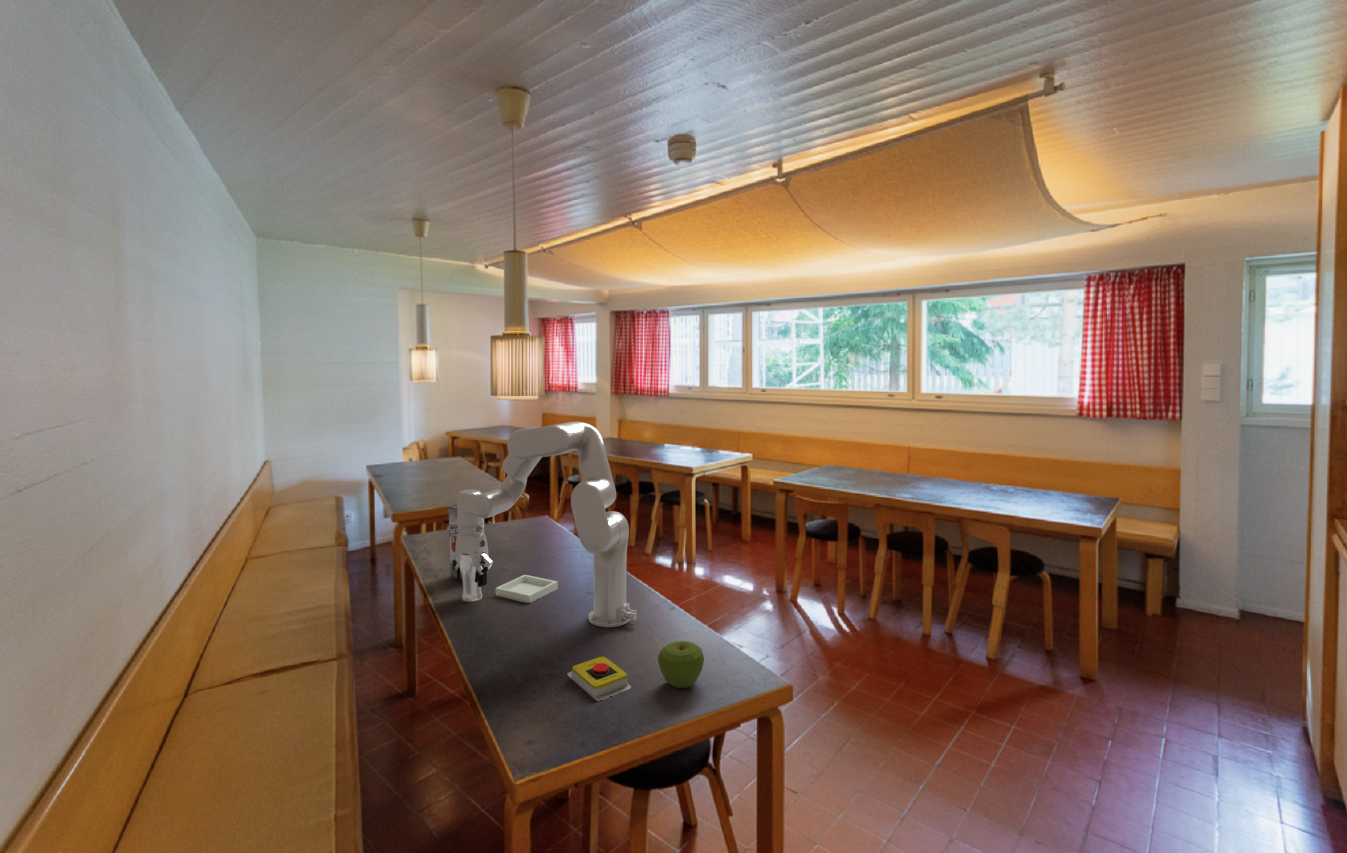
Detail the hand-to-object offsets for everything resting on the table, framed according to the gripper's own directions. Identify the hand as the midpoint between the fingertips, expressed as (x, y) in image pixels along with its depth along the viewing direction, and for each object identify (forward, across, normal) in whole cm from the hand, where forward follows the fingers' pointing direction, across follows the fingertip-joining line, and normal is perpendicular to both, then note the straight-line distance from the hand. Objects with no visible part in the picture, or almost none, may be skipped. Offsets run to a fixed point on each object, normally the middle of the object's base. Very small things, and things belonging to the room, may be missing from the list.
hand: (471, 583), depth 186 cm
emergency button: (+6, -63, +23) cm, 68 cm away
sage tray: (+5, -12, -12) cm, 18 cm away
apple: (+5, -81, +16) cm, 83 cm away
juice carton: (+5, +15, -13) cm, 21 cm away
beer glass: (+5, 0, 0) cm, 5 cm away
